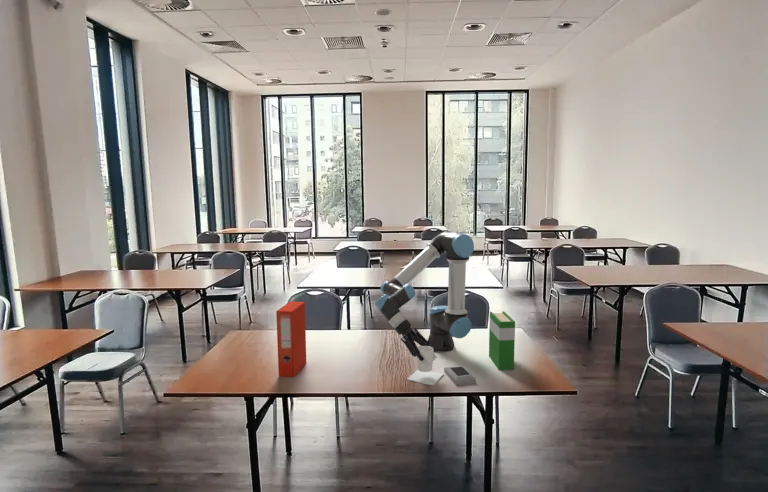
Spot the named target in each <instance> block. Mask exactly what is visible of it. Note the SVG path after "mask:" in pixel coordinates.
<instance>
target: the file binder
mask: <svg viewBox="0 0 768 492" xmlns="http://www.w3.org/2000/svg"><path fill="white" fill-rule="evenodd" d="M305 305H306V303H305V301H288V302H287V303H285V304H284V305H283V306H281V307H280V308H278V309H277V310H276V311H275V313H276V334H277V335H276V338H277V343H276V344H277V362H278V363H277V364H278V370H277V371H278V376H279V377H288V378H294V377H295V376H296V375H297V374H298V373H299V372H300V371H301V370H302V369H303V367H304V366H305V365H306V364H307V344H306V343H307V341H306V340H307V336H306V306H305Z"/></svg>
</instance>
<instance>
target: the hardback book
mask: <svg viewBox="0 0 768 492" xmlns="http://www.w3.org/2000/svg"><path fill="white" fill-rule="evenodd" d="M488 334H489V335H488V337H489V338H488V341H489V343H488V357H489V358H490V360H491V362H492V363H493V365H495V367H496V369H497V370H498V371H514V369H515V340H516V339H515V338H516V337H515V336H516V321H515V320H514V319H513V318H511V316H510V315H509V314H508V313H506V312H505V311H501V312H498V313H497V312H495V313H494V312H492V311H489V333H488Z"/></svg>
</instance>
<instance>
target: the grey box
mask: <svg viewBox="0 0 768 492" xmlns="http://www.w3.org/2000/svg"><path fill="white" fill-rule="evenodd" d="M443 370H444V371H443V373H445V375H446V376H447V377H448V378H449V379H450V381H452V383H453V384H454V385H455V386H461V385H462V386H463V385H471V384H473V385H474V384H476V383H477V379H476V378H475V376H474V375H473V374H472V373H471V372H470V371H469V370H468V369H467V368H466V367H465V366H464V365H457V366H446V367H444V368H443Z"/></svg>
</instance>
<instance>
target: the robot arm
mask: <svg viewBox="0 0 768 492" xmlns="http://www.w3.org/2000/svg"><path fill="white" fill-rule="evenodd" d="M474 248H475V244H474V240H473V238H472V237H471V236H470V235H468V234H466V233H462V232H455V231H451V230H450V231H449V230H447V231H443V232H441V233H439V234H437V235H436V236H435V237H433V238H432V239H431V240H430V241H429V242H428V243H427V244H426V247H425V248H424V249H423V250H422V251H420V253H418V254H417V256H415V257H414V258H413V259H412V260H411V261H410V262H408V264H407V265H406V266H404V268H402V269H401V270H400V271H399V272H398V273H397V274H396V275H394V276H393V277H392V279H391V280H390V281H388V280H386V281H384V282H382V284H381V285H380V293H381V294H382V295H381V296H380V297H379V298H378V299H377V300H376V301H375V306H376V308H377V309H378V311H379V312H380V313H381V314H382V315H383V316H384V318H385V319H386V321H388V323H389V324H390V325H391V326H392V328H394V331H395V332H396V333H397V334H398V335H400V336H402V337H401V338H400V340H401V341H402V342H403V344H404V345H405V346H406V348H407V350H408V351H409V353H410V354H411V356H412V357H414V358H417V357H418V358H419V359H420V361H421V362H422V363H423V364H424V366H425V367H427V366H428V365H430V364H431V363H430V362H429V361H428V360H427V359H426V357H425V356H424V355H423V354H422V353H420V351H419V350H418V348H417V347H418V346H417V344H418V345H419V346H430V347H432V348H433V349H434V350H433V362H434V361H435V360H436V359H437V358H438V356H437V355H436V353H434V352H438V353H444V352H445V353H447V352H451V351H453V350H454V349H455V342H454V341H455V340H454V339H453V338H456V339H463V338H465V337H466V336H467V335H469V333H470V332H471V330H472V322H471V320H470V318H468V310H467V309H466V308H465V305H466V299H465V298H466V272H467V271H466V270H467V265H466V264H467V262H468V261H469V260H470V256H472V254H473V253H474ZM444 254H446V255H445V259H446V260H447V262H448V280H447V281H448V284H447V287H448V289H447V305H435V306H432V307H430V309H429V335H428V338H425V337H424V335H422V333H420V331H419V330H418V329H417V328H416V327H415V328H412V323H410V320H409V319H407V318H406V315H404V313H402V311H401V310H400V309H401V308H402V307H403V306H405V305H406V304H407V303H408V302H410V301H412V299H413V298H414V297H415V296H416V295H417V294H416V290H415V288H414V286H412V285H411V284H410V283H411V282H412V281H413V280H414V279H415V278H416V277H417V276H418V275H420V273H422V272H423V271H424V270H425V268H427V267H428V266H429V265H430V264H431V263H432V262H433V261H434V260H435V259H440V258H441V257H442V256H443V255H444Z"/></svg>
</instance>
